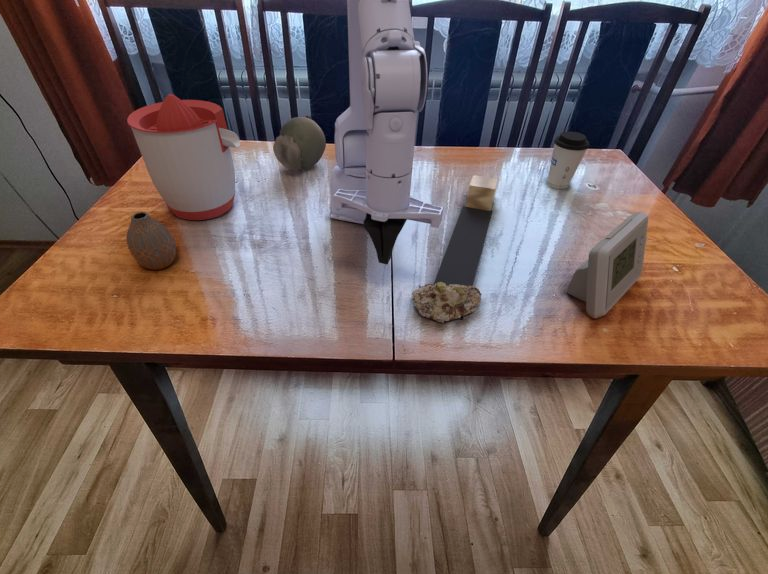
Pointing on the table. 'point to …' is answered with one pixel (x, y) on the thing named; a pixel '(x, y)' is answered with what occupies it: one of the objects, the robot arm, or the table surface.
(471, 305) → the mineral rock
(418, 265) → the table surface
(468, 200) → the maple block
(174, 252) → the vase
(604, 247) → the digital clock
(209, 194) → the citrus juicer
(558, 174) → the coffee cup
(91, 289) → the table surface
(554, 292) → the table surface
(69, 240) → the table surface
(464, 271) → the line stripe
